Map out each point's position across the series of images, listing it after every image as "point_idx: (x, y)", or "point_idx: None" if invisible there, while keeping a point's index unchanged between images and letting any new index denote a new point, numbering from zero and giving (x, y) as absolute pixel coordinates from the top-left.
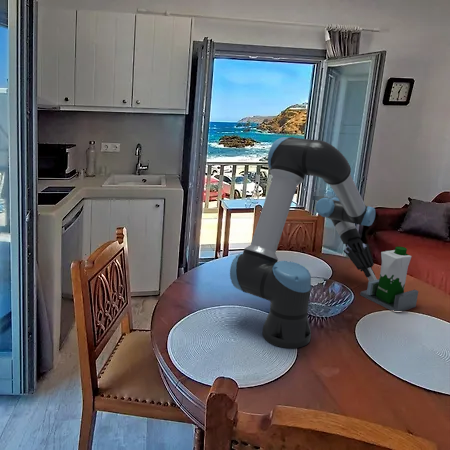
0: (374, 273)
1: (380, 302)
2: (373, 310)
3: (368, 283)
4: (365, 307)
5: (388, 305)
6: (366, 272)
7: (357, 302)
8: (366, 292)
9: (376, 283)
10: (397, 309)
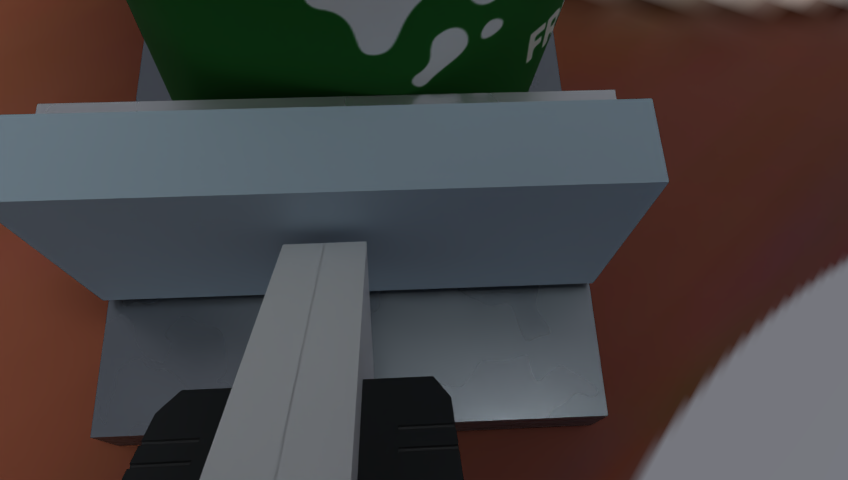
0: (154, 416)
1: (553, 60)
2: (731, 28)
3: (652, 191)
4: (779, 114)
5: None
6: (457, 475)
7: (797, 256)
8: (527, 348)
9: (512, 93)
10: None
